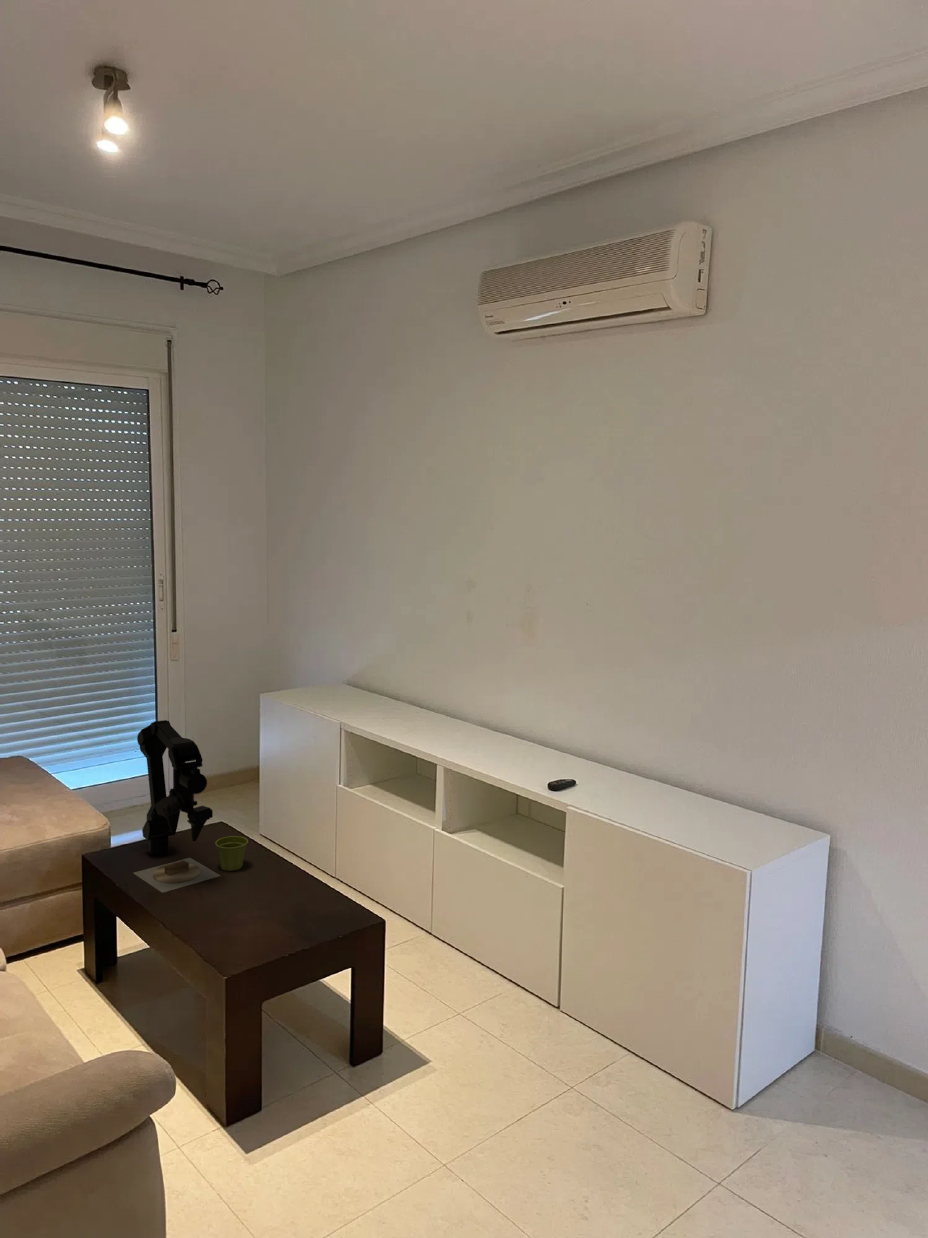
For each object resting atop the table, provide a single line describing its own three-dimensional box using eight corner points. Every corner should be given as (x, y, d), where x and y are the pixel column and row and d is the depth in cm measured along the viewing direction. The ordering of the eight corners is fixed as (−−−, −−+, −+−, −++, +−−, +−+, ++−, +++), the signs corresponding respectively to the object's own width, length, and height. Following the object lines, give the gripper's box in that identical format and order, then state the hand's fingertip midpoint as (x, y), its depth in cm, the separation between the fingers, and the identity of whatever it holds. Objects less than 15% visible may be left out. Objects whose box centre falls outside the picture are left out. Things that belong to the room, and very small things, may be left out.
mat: (132, 876, 262) (132, 873, 262) (189, 860, 275) (189, 857, 275) (162, 896, 249) (162, 892, 249) (220, 879, 262) (220, 875, 262)
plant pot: (250, 873, 267) (250, 845, 266) (217, 877, 263) (217, 849, 262) (245, 862, 275) (245, 834, 274) (213, 865, 272) (213, 838, 271)
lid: (145, 873, 262) (144, 863, 261) (186, 862, 271) (186, 852, 271) (166, 887, 253) (166, 877, 252) (208, 875, 262) (208, 865, 262)
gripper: (139, 785, 258) (139, 838, 259) (181, 798, 247) (182, 853, 249) (171, 776, 267) (172, 827, 268) (213, 788, 256) (214, 841, 258)
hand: (183, 837), depth 261 cm, fingers open, 9 cm apart
